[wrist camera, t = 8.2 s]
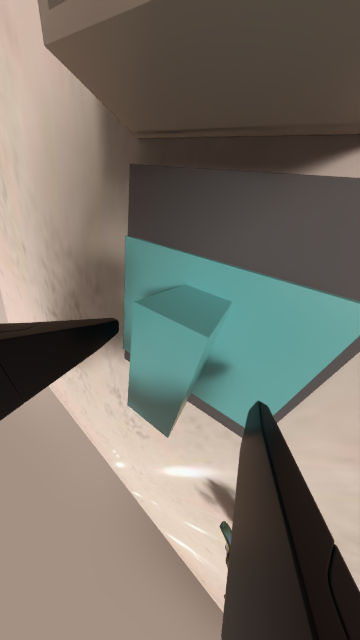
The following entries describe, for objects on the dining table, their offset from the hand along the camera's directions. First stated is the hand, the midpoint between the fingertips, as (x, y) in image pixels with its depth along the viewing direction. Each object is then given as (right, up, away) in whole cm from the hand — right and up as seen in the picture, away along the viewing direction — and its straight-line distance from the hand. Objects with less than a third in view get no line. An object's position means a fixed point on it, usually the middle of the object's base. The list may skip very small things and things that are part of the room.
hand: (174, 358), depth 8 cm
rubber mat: (+2, +2, +4) cm, 5 cm away
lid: (+2, +2, +4) cm, 5 cm away
